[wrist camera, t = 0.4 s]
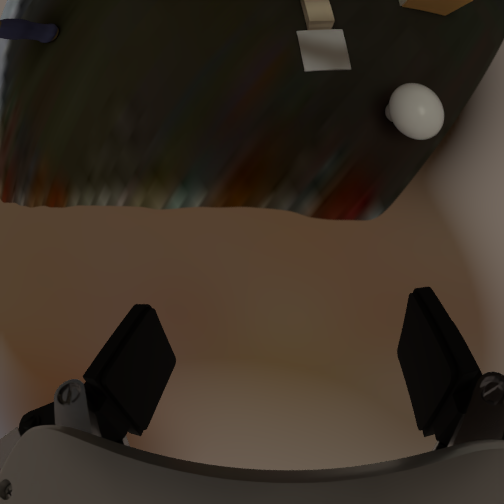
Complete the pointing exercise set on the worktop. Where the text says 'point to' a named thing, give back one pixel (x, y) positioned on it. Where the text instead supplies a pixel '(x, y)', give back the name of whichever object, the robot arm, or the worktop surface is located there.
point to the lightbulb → (415, 111)
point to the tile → (434, 5)
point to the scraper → (322, 39)
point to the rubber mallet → (27, 30)
